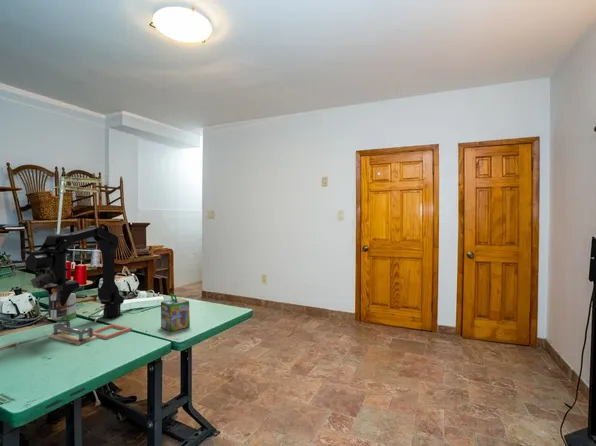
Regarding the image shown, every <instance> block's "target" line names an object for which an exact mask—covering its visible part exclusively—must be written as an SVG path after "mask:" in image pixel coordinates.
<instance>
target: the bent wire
mask: <svg viewBox="0 0 596 446" xmlns="http://www.w3.org/2000/svg"><path fill="white" fill-rule="evenodd" d="M52 328H53V333H54V334H57V332H58V330H59V331H62V330H63V331H67V332H71V333H70V334H74V335H75V334H76V335H78V337H79V341H82V340H83V338H84V336H83V335H84V334H88V332H89V335H88V336H89V337H93V330H94V329H93V327H87V328H84V329H77V328H73V327H71V322H70V320H65V321H62V322H59V323H55V324H53V326H52Z"/></svg>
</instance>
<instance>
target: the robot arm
mask: <svg viewBox="0 0 596 446" xmlns="http://www.w3.org/2000/svg"><path fill="white" fill-rule="evenodd" d="M90 238H92V239H93V240H94V241H95V242H97V247H98V249H99V250H100V252H101V257H102V263H101V264H102V266H101V267H102V284H101V286H100V287H98V288H97V296H96V297H97V298H98V300H99V302H100V304H101V305H104V306H103V311H102V312H103V315H102V316H101V318H104V319H109V320H112V319H115V318H118V317H121V316H124V314H123V313H121V305H123V304H124V301H125V298H124V297H123V296H122V295H121V294H120V290H119V287H118V286H117V284H116V282H115V281H116V277H115V274H116V272H115V269H116V268H115V266H116V265H115V252H116V251H117V249H118V248H119V237H118V236H117V235H116V234H113V233H112V232H110V231H108V230H106V229H104V228H103V227H101V226H90V227H87V228H83V229H80V230H76V231H73V232H69V233H54V234H48V235H47V236H46V238H45V241H43V243H42V245H41V246H40V248H39V249H38V250H37V251H30V252H29V255H28V256H27V257H26V260H25V262H24V263H25V264H24V265H25V267H26V268H27V270H30V271H35V270H41V269H45V271H44V273H43V274H40V275H38V276H36V277H33V278H32V279H31V280H30V283H31V284H32V287H33V288H34V289H35V288H36V289H39V290H40V289H41V290H43V291H45V292H46V293H47V295H48V297H49V295H50V294H52V292H51V291H52V289H53V288H58V289H59V290H55V291H56V292H58V293H59V297H60V303H61V306H64V305H65V304H66V302H67V300H68V298H69V296H70V294H71V293H73V291H74V290H75V289H80V282H79V281H78V280H74V279H71V280H70V278H69V277H67V272H68V271H70V270H69V267H67V255H68V254H69V255H70V254H72V251H70V250H69V249H68V248H69V247H71V246H73V244H75V243H76V242H81V241H83V240H86V239H90Z"/></svg>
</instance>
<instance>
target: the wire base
mask: <svg viewBox="0 0 596 446" xmlns="http://www.w3.org/2000/svg"><path fill="white" fill-rule="evenodd" d="M71 334H72V333H71V332H67V331H63V330H59V331H57V334H54V332H52V333H49V334H48V337H49V338H52V339H55V340H58V341H63V342H67V343H70V344H74V345H77V346H81V345H84V344H87V343H89V342H92V341H95V340H97V337H96V336H93V337H89V335H87V336H85V337H83V340H82V341H79V336H75V335H71Z"/></svg>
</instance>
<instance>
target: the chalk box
mask: <svg viewBox="0 0 596 446" xmlns="http://www.w3.org/2000/svg"><path fill="white" fill-rule="evenodd" d="M170 298H171V299H167V300H163V301H161V302H160V326H161V328H162V329H165V330H166V331H168V332H170V333H172V332H175V331H179V330H182V329H185V328H190V326H191V325H190V324H191V322H190V320H191V319H190V318H191V317H190V300H186V299H183V298H179V297H178V298H177V295H176V294H173V293H171V292H170Z"/></svg>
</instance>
